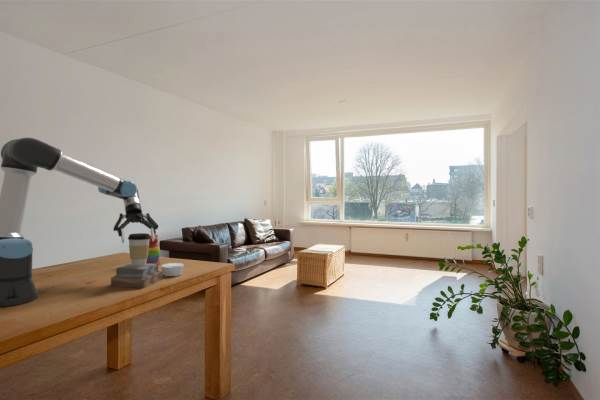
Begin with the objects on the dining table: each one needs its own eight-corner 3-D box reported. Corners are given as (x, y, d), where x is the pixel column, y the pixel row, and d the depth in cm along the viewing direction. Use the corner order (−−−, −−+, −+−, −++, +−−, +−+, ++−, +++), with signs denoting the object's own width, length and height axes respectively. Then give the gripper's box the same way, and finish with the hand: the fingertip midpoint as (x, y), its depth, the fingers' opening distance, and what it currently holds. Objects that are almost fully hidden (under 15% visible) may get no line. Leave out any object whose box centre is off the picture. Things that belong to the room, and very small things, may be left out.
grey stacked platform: (143, 288, 150) (143, 270, 150) (110, 286, 152) (111, 268, 152) (162, 279, 166) (162, 263, 166) (132, 277, 168) (132, 261, 168)
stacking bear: (157, 262, 206) (158, 233, 206) (163, 264, 198) (163, 235, 198) (139, 264, 199) (139, 234, 199) (143, 267, 191) (144, 236, 191)
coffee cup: (141, 262, 166) (142, 232, 166) (154, 265, 161) (155, 234, 161) (122, 266, 158) (123, 234, 157) (135, 268, 153) (136, 236, 152)
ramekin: (163, 278, 168) (164, 268, 168) (158, 273, 177) (158, 263, 177) (186, 275, 175) (186, 265, 175) (180, 271, 184) (180, 261, 184)
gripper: (156, 212, 183) (163, 243, 172) (104, 212, 168) (108, 246, 156) (159, 203, 179) (167, 234, 167) (106, 202, 164) (110, 236, 152)
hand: (138, 240), depth 162 cm, fingers open, 13 cm apart
